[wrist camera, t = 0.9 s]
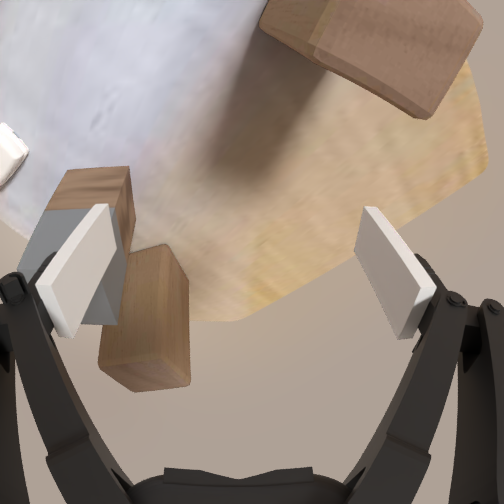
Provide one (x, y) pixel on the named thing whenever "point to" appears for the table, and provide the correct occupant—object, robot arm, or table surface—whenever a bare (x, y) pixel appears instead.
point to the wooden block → (382, 43)
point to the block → (150, 325)
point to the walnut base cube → (99, 195)
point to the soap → (10, 152)
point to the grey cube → (51, 240)
